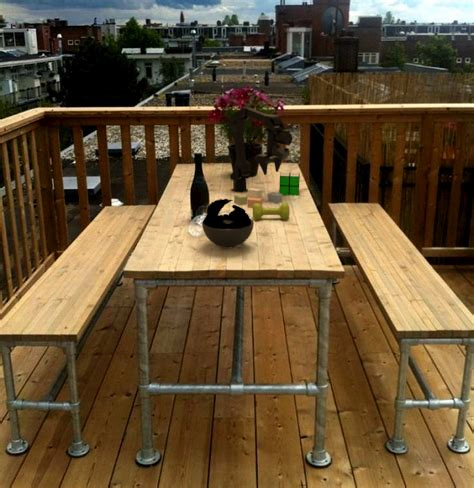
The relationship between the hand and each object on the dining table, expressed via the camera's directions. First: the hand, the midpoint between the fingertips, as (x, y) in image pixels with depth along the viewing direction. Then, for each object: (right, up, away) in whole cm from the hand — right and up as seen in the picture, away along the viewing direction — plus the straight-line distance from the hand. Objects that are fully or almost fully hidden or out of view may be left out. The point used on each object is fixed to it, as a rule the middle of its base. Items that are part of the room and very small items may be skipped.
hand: (271, 173), depth 311 cm
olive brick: (-15, -15, -4) cm, 22 cm away
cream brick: (-8, -11, +8) cm, 16 cm away
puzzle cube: (+10, -9, +15) cm, 20 cm away
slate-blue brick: (+2, -14, 0) cm, 14 cm away
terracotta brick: (-8, -17, -10) cm, 21 cm away
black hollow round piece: (-20, -36, -63) cm, 75 cm away
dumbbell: (-2, -24, -28) cm, 37 cm away
